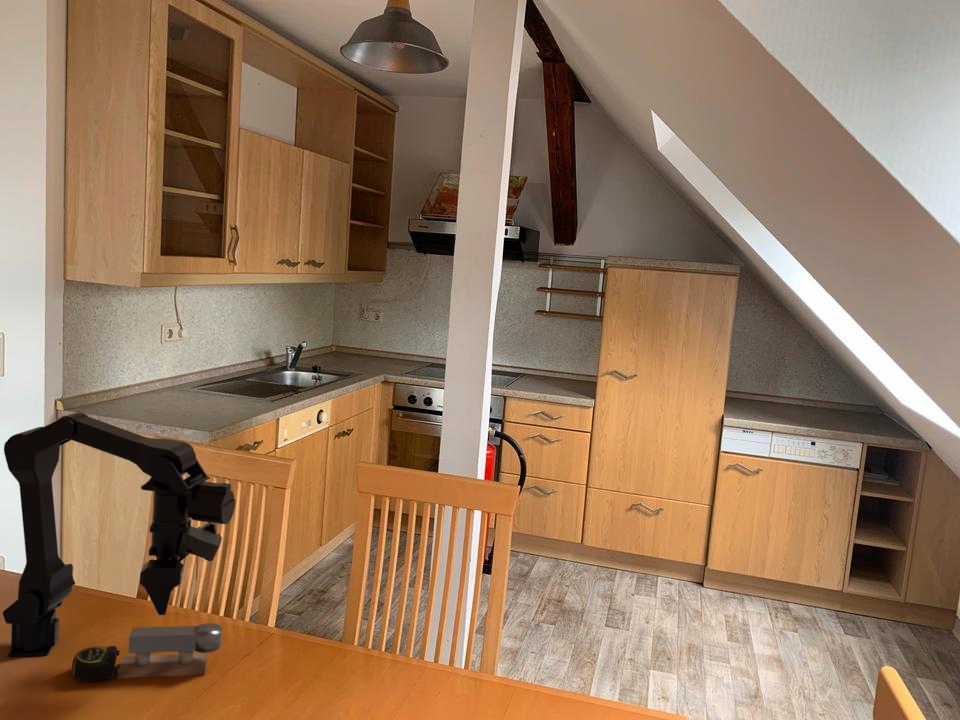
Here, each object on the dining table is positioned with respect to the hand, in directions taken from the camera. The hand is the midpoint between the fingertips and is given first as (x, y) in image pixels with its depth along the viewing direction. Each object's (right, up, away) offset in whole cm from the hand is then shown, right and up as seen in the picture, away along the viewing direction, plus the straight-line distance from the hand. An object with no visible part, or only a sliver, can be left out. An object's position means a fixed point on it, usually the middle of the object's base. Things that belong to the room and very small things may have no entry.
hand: (166, 602), depth 133 cm
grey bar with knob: (+1, -8, +1) cm, 8 cm away
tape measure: (-11, -12, -2) cm, 16 cm away
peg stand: (-1, -12, +1) cm, 12 cm away
